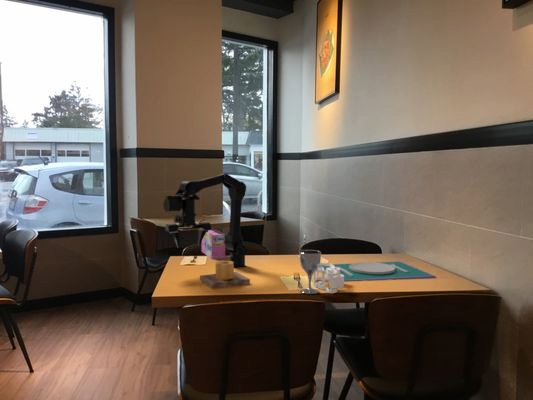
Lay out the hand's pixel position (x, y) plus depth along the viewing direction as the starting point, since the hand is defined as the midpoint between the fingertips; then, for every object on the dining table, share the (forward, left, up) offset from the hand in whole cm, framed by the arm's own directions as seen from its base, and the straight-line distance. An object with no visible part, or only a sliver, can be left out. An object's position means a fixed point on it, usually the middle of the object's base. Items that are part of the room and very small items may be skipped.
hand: (188, 246), depth 193 cm
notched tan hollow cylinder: (-9, +19, -10) cm, 23 cm away
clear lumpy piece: (-43, +42, -12) cm, 61 cm away
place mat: (-77, +28, -13) cm, 83 cm away
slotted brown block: (-9, +19, -12) cm, 24 cm away
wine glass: (-33, +45, -12) cm, 57 cm away
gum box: (-24, -35, -12) cm, 44 cm away
